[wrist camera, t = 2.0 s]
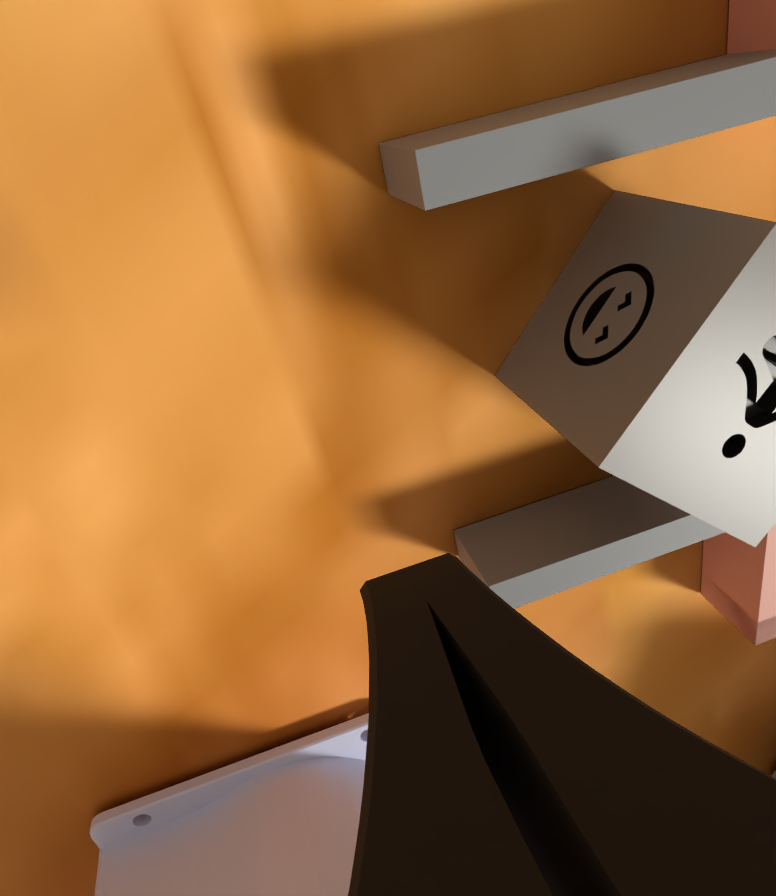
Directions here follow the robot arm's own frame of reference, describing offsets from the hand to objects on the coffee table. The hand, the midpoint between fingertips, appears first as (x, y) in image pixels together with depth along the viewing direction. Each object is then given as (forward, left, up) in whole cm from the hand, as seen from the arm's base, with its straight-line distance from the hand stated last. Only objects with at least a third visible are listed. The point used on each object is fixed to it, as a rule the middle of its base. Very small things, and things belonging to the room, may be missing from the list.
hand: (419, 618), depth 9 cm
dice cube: (+8, 0, -8) cm, 11 cm away
